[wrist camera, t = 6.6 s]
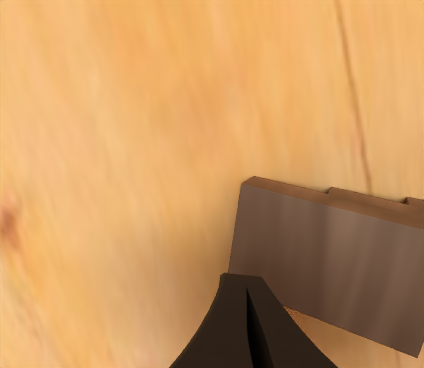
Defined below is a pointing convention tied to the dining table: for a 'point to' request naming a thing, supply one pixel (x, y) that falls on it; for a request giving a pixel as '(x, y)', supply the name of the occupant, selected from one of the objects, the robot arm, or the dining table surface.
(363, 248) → the domino
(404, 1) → the dining table surface
